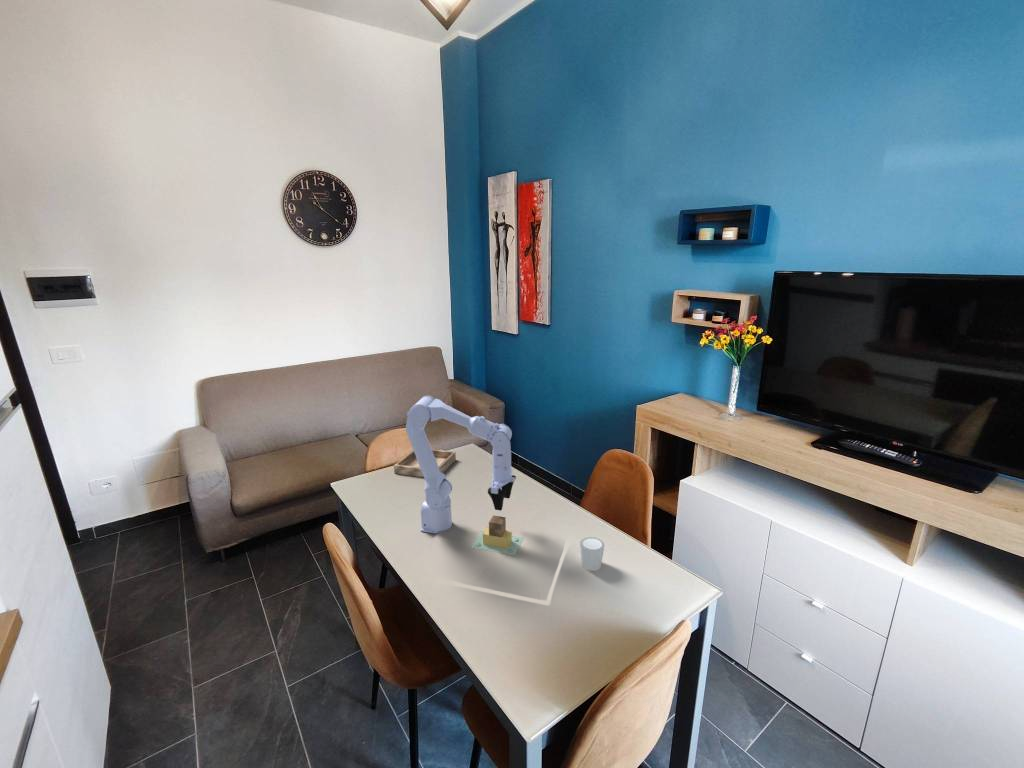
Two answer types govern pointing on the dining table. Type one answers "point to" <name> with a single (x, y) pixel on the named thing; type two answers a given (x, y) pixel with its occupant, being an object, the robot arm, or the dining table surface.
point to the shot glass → (591, 553)
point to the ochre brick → (497, 539)
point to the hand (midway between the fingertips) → (502, 503)
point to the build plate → (511, 549)
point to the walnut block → (497, 526)
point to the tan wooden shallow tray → (411, 464)
